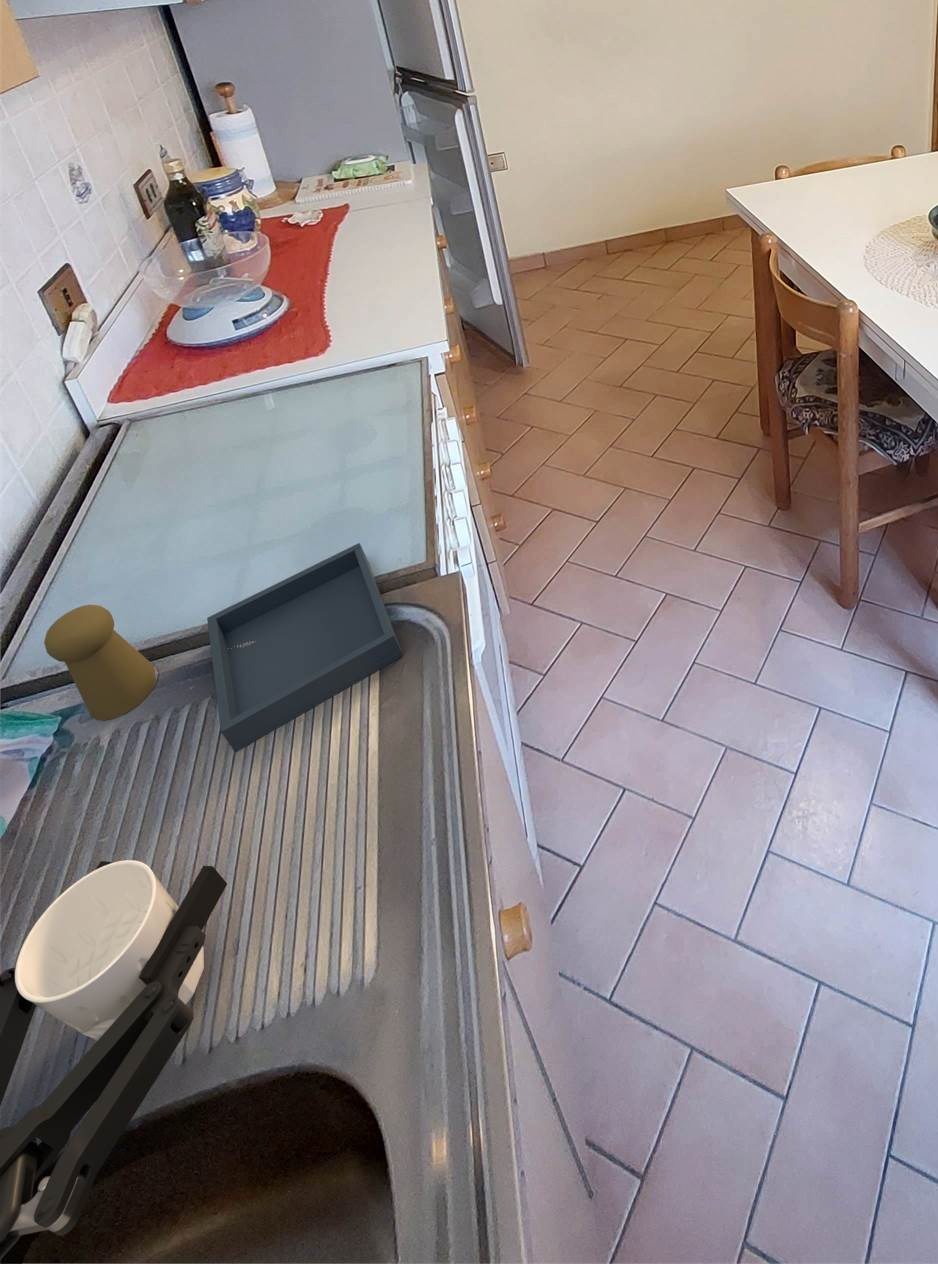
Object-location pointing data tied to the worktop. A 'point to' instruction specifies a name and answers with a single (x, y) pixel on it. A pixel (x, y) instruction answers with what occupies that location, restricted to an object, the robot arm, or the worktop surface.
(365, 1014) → the worktop surface
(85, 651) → the cork
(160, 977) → the robot arm
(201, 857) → the worktop surface
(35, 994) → the white cup
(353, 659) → the shallow grey tray
